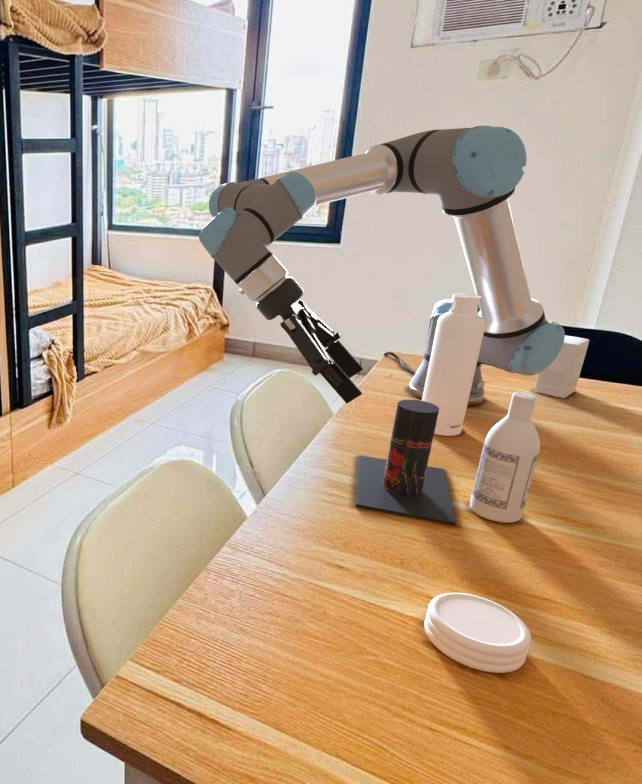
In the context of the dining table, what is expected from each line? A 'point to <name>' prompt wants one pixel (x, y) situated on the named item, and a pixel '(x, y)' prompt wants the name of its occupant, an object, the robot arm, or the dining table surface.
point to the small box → (563, 369)
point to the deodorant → (410, 447)
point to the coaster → (477, 632)
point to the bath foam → (507, 463)
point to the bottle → (454, 362)
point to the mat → (424, 506)
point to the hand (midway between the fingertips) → (355, 385)
